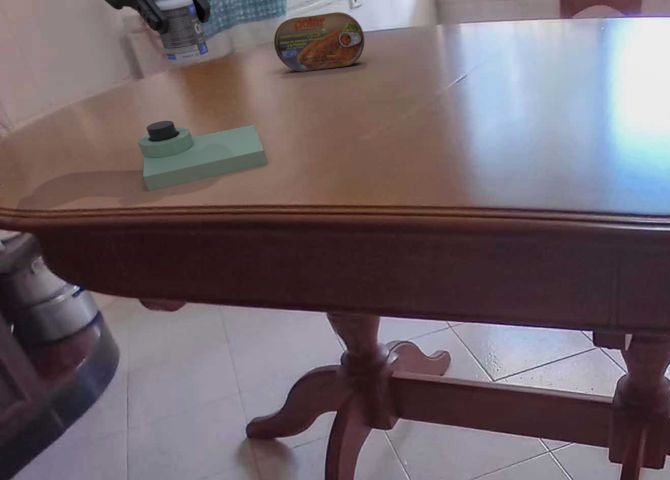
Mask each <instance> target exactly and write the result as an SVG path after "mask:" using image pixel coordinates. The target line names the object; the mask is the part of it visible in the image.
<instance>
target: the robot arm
mask: <svg viewBox="0 0 670 480" xmlns="http://www.w3.org/2000/svg"><path fill="white" fill-rule="evenodd" d="M104 1H105V3H107V4H108V5H109V6H110V7H112V9H114V10H117V11H120V10H123V8H124V7H125V8H130V9H131V10H133V11H136V12H137V13H138V15H139V16H140V17H141V18H142V20H143V21H144V22H145V23H146V25H148V27H149V28H150V29H151V30H152V31H154V32H157V33H158V35H159V34H160V35H163V34H166V33H168V28H169V21H168V19H167V17H166V16H165V15H164V14H163V12H162V11H161V10H160V9H159V7H158V6H157V5H156V3H155V2H154V1H153V0H104ZM192 1H193V3H194V6H195V9H196V13H197V16H198V19H199V22H200V24H205V23H208V22H209V20H210V16H211V8H212V7H211V4H210V2H209V0H192ZM160 35H159V36H160Z"/></svg>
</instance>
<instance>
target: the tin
mask: <svg viewBox="0 0 670 480" xmlns="http://www.w3.org/2000/svg"><path fill="white" fill-rule="evenodd" d="M273 37H274V38H273V45H274V46H273V47H274V50H275V53H276V55H277V57H278V58H279V60H280V61H281V62H282V63H283V64H284V65H285V66H286V67H287V68H289V69H291V70H293V71H296V72H300V73H304V72H305V73H306V72H312V71H313V72H314V71H320V70H327V69H336V68H344V67H349V66H351V65H353V64H355V63H356V62H357V61H358V60H359V59H360V57H361V56H362V54H363V51H364V47H365V34H364V31H363V27H362V26H361V24H360V23H359V22H358V21H357V20H356V18H354V17H353V16H352V15H350V14H348V13H345V12H341V11H338V12H337V11H336V12H329V13H321V14H315V15H306V16H305V15H304V16H298V17H292V18H289V19H286V20H284V21H283V22H282V23H280V24H279V26H278V27H277V28H276V31H275V34H274V36H273Z"/></svg>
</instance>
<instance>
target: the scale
mask: <svg viewBox="0 0 670 480" xmlns="http://www.w3.org/2000/svg"><path fill="white" fill-rule="evenodd" d="M175 129H176V131H177V134H178V136H176V137H174V138H171V139H169V140H164V141H160V142H152V141H151V139H150V136H149V134H148V133H147V134H145V135H143V136H141V137H139V139H138V143H137V144H138V146H139V150H140V151H141V154H142V156H143V170H142V178H143V180H144V183H145V185H146V188H147V191H148V192H152V191H156V190H161V189H164V188H169V187H174V186H178V185H182V184H183V185H184V184H187V183H192V182H197V181H200V180H206V179H209V178H215V177H218V176H223V175H227V174H231V173H236V172H240V171H245V170H249V169H254V168H257V167H258V168H259V167H263V166H266V165H269V162H268V158H267V155H266V152H265V149H264V146H263V143H262V141H261V138H260V135H259V133H258V131H257V127H256V125H255V124H249V125H244V126H240V127H235V128H231V129H225V130H222V131H217V132H212V133H207V134H203V135H198V136H192V134H191V130H190V129H189V128H186V127H183V126H179V127H176V126H175Z"/></svg>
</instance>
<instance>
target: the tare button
mask: <svg viewBox="0 0 670 480" xmlns="http://www.w3.org/2000/svg"><path fill="white" fill-rule="evenodd" d="M175 127H176V125H175V123H174V121H173V120H162V121H156V122H153V123H151V124H149V125H147V127H146V131H147V134H149V136H150V139H151V141H152V142H160V141H164V140H169V139H171V138H174V137H176V136H178V134H177V131H176V129H175Z"/></svg>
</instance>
